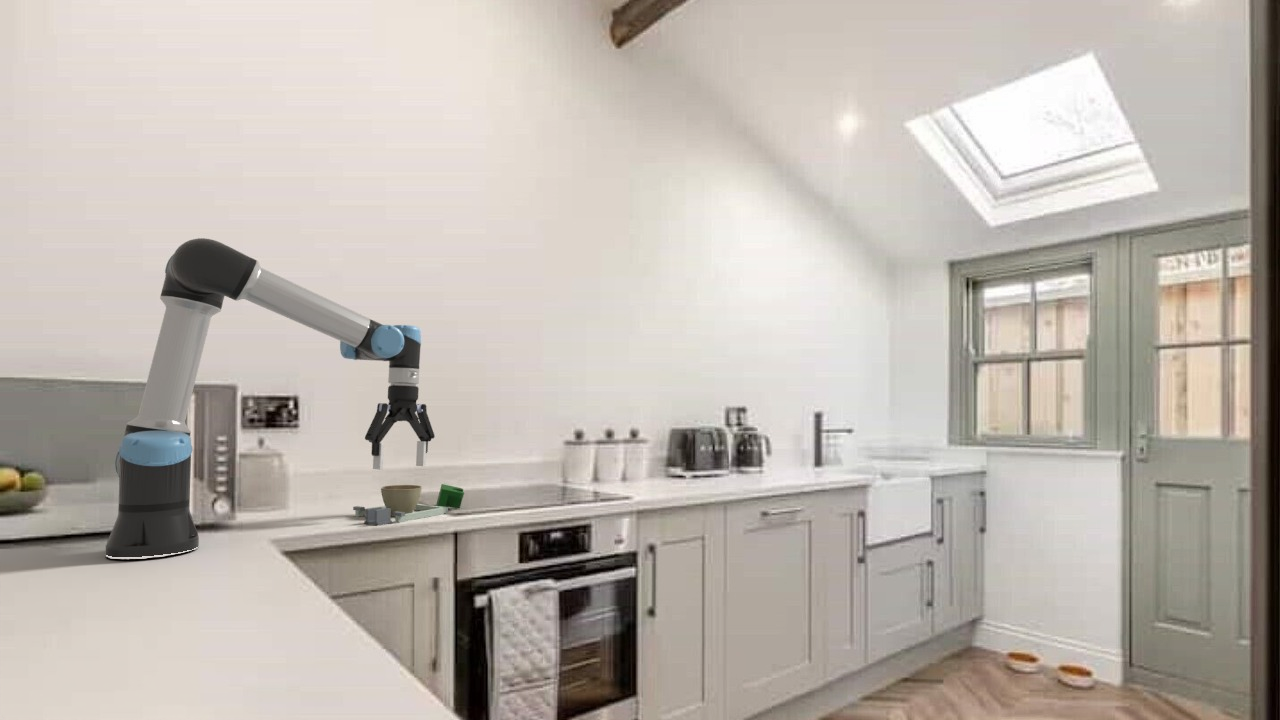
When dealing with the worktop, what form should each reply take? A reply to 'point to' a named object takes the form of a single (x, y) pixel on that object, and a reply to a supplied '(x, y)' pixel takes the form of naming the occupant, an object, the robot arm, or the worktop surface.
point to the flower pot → (401, 497)
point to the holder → (401, 516)
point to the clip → (378, 516)
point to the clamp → (450, 496)
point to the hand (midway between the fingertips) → (399, 467)
